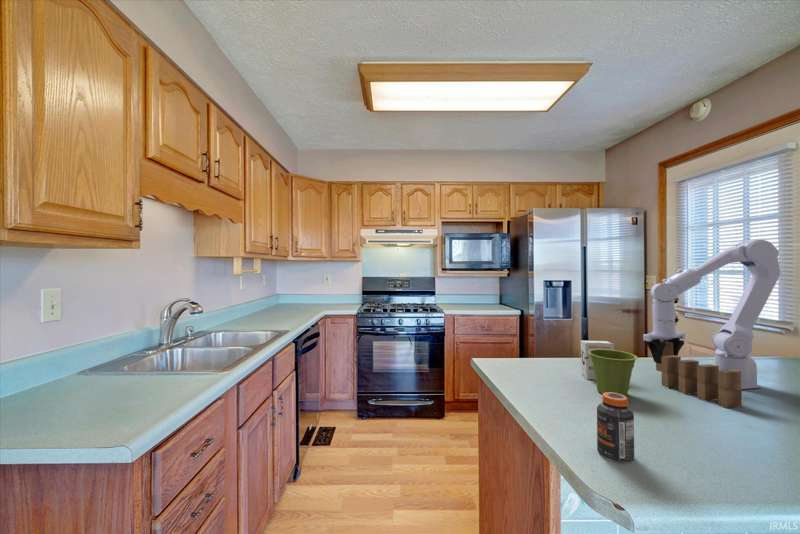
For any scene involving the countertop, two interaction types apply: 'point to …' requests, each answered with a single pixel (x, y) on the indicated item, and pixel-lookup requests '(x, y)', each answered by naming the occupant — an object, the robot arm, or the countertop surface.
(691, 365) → the domino
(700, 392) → the domino
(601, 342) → the ink box
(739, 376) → the domino
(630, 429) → the pill bottle
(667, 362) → the domino
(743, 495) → the countertop surface
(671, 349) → the domino
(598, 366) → the plant pot
